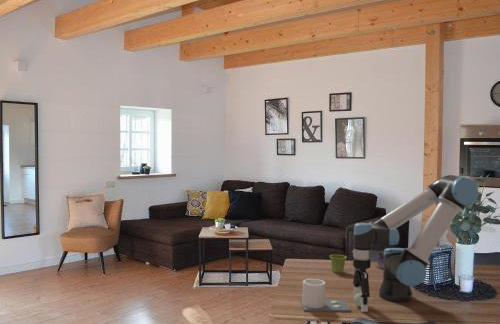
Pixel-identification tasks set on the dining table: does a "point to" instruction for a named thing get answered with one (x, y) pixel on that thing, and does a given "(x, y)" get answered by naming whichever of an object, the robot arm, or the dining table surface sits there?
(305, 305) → the tube stand
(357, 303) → the sage ball
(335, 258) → the plant pot
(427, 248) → the robot arm
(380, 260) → the geode
